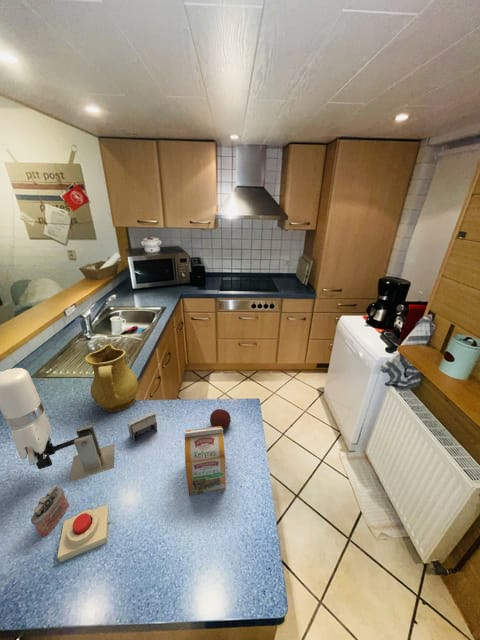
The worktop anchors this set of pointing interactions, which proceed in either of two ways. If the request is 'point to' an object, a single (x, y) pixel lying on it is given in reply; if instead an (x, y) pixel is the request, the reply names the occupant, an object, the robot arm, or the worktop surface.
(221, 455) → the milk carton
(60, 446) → the lever
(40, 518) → the lighter
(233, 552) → the worktop surface
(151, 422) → the electrical switch
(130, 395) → the pitcher
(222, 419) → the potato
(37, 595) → the worktop surface
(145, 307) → the worktop surface
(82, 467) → the bracket
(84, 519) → the button
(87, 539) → the control box
